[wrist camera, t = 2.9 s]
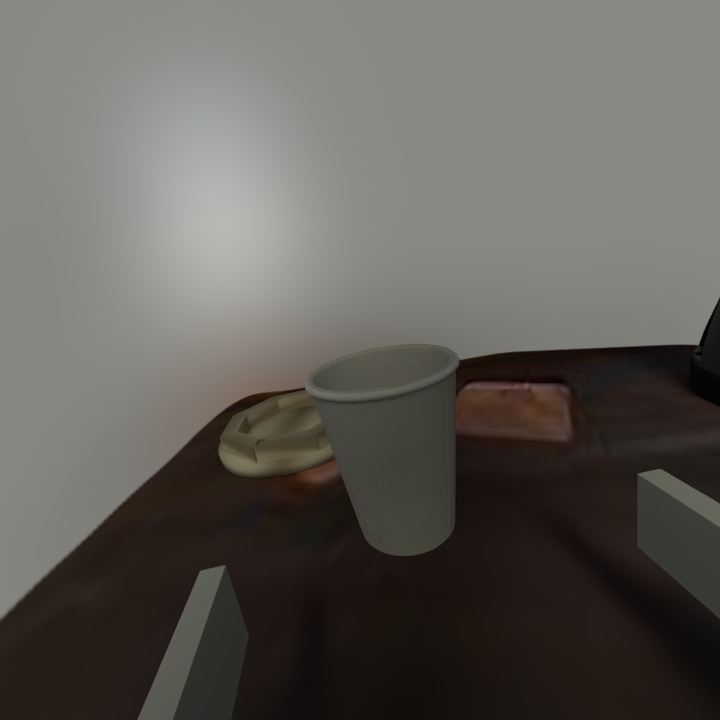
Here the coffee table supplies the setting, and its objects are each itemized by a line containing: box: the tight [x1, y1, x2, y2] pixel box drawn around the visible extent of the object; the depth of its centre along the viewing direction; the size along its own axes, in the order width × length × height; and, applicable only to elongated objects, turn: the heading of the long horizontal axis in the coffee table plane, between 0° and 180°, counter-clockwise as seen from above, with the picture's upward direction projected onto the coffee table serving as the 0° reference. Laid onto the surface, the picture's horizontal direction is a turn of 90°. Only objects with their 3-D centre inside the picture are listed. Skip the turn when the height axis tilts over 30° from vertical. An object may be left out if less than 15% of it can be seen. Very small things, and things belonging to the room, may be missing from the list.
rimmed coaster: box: [218, 390, 335, 478], centre depth 37 cm, size 15×15×2 cm
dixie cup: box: [305, 344, 459, 556], centre depth 21 cm, size 8×8×10 cm
